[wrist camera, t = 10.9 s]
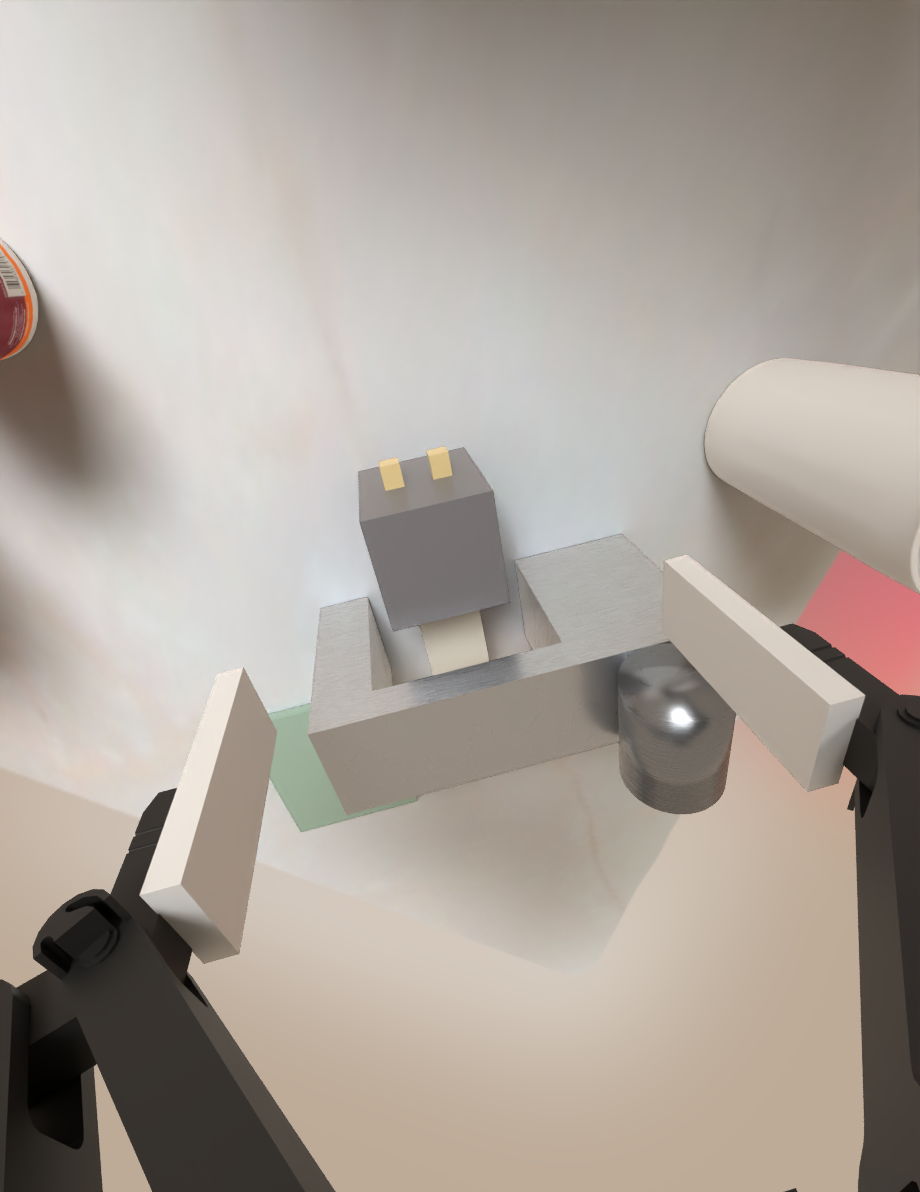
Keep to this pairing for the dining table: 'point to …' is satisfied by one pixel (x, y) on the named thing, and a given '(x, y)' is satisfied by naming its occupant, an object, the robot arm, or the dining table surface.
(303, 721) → the mat
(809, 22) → the dining table surface
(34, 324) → the pill bottle
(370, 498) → the plug
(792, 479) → the mug
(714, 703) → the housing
